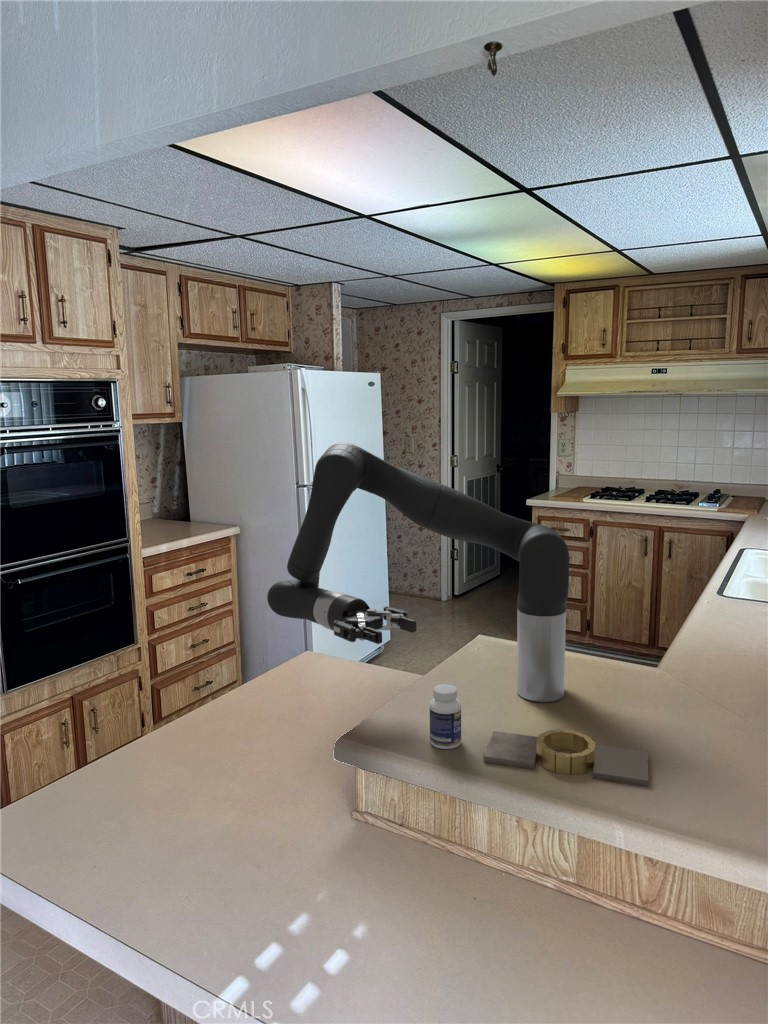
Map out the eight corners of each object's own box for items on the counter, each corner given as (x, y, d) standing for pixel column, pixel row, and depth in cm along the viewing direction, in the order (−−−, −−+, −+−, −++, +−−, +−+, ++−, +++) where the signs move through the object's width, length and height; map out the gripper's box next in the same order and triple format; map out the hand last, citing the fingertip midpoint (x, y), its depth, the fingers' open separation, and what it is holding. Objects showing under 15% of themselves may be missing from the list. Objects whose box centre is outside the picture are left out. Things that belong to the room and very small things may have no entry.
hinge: (493, 736, 121) (493, 720, 121) (647, 757, 113) (647, 740, 112) (483, 761, 113) (483, 744, 112) (648, 786, 104) (649, 768, 104)
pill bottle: (459, 751, 116) (459, 696, 115) (427, 748, 117) (427, 694, 116) (462, 736, 121) (462, 683, 120) (432, 733, 122) (431, 681, 121)
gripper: (311, 602, 131) (368, 621, 119) (368, 587, 141) (425, 604, 129) (312, 640, 132) (369, 662, 120) (368, 623, 142) (426, 642, 130)
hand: (398, 632), depth 125 cm, fingers open, 8 cm apart
